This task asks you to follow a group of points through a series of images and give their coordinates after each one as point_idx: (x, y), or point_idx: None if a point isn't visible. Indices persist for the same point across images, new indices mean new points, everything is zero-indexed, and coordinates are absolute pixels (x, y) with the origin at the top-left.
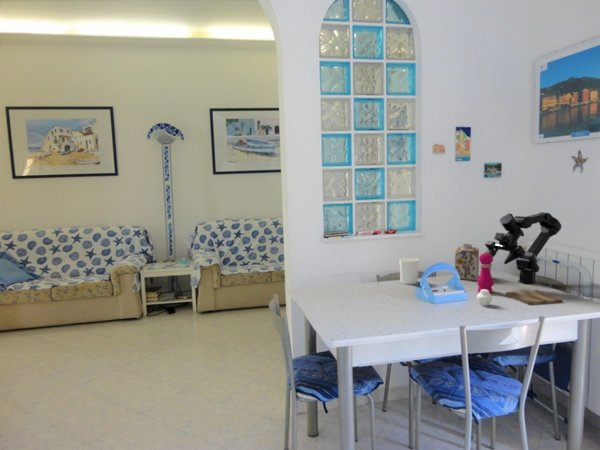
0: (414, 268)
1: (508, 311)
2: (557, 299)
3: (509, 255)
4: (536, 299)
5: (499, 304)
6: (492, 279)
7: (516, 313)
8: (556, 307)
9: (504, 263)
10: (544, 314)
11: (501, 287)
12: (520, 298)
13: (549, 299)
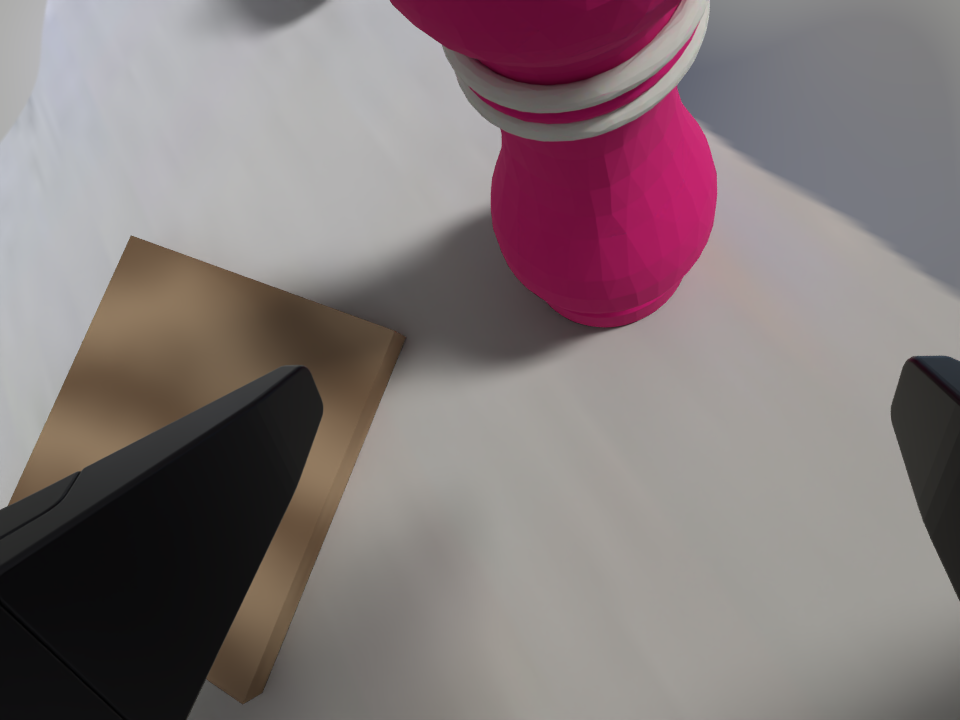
0: None
1: (171, 7)
2: (19, 500)
3: (22, 519)
4: (121, 353)
5: (283, 65)
6: (496, 217)
7: (126, 22)
8: (14, 358)
9: (299, 369)
10: (20, 154)
11: (641, 603)
12: (211, 265)
13: (58, 444)
